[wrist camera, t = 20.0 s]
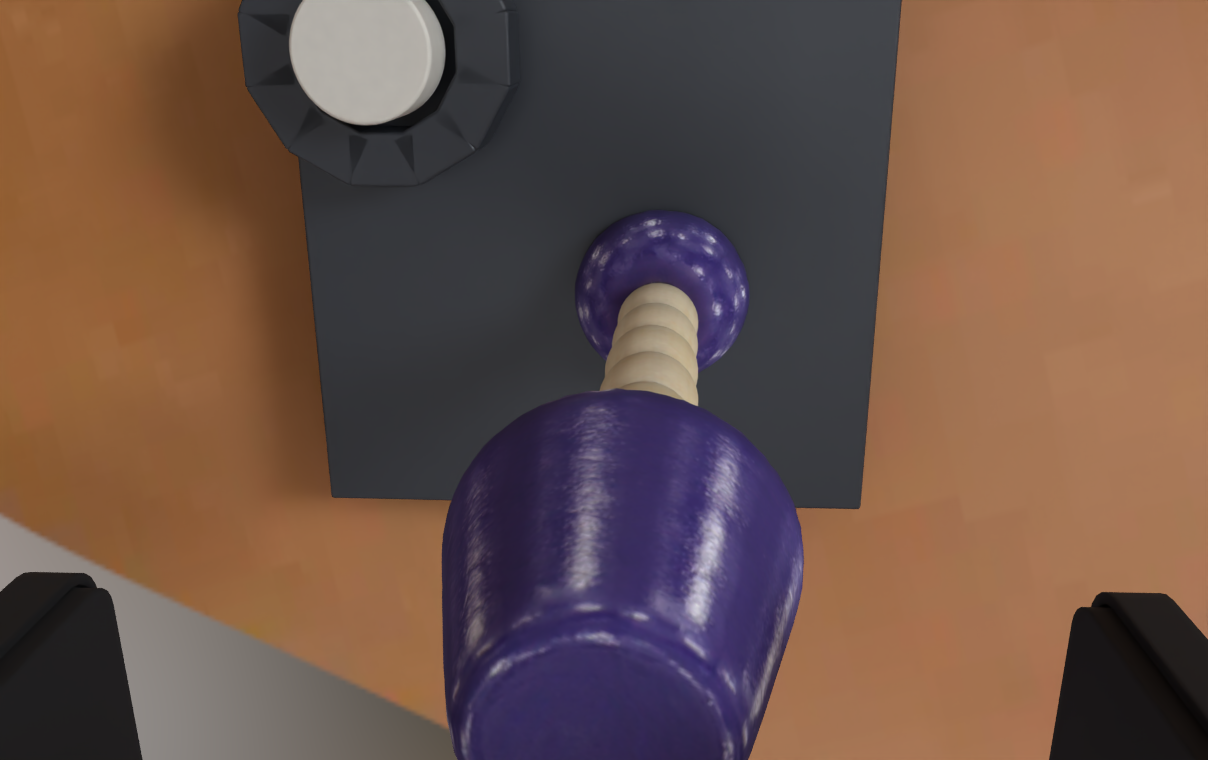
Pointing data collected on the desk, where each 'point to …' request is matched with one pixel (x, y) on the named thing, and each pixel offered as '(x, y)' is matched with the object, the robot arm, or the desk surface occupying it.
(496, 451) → the toy lamp
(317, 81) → the button
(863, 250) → the scale
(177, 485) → the desk surface
